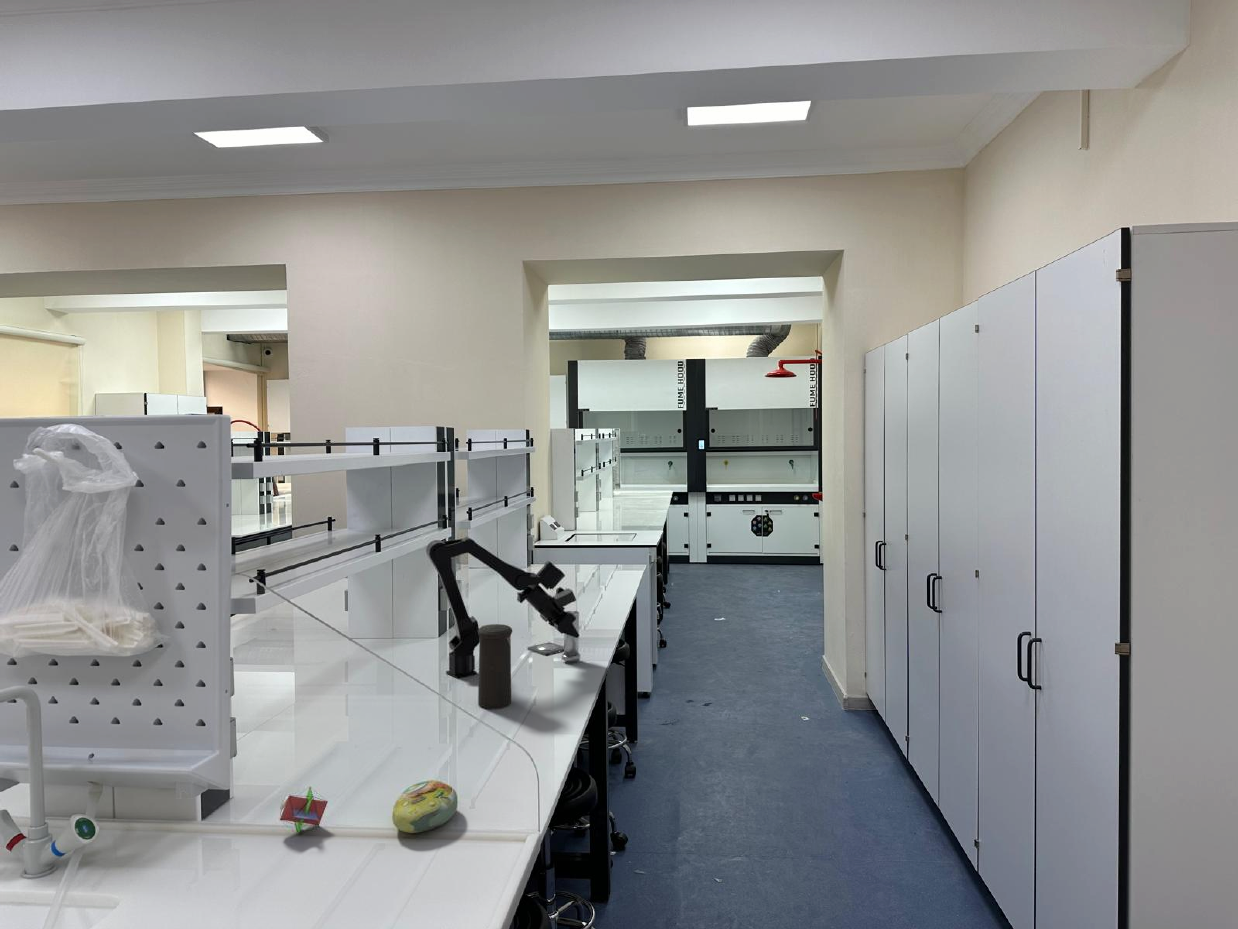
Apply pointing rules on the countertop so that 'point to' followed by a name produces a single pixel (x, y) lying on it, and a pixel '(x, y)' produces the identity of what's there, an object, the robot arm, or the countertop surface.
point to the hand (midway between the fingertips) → (575, 635)
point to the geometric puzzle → (302, 810)
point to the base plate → (546, 648)
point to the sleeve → (572, 642)
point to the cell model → (424, 806)
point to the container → (494, 666)
